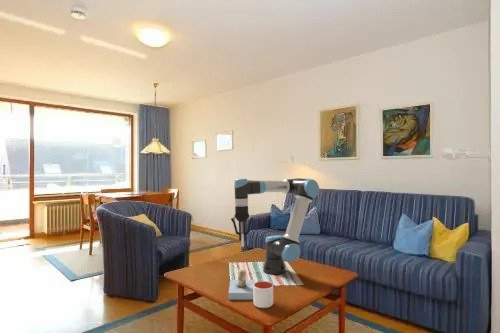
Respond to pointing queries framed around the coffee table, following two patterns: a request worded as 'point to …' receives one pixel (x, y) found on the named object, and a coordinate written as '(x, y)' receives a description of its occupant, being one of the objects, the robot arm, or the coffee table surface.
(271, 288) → the cup
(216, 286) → the coffee table surface
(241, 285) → the peg
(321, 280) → the coffee table surface
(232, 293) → the board
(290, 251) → the robot arm
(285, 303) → the coffee table surface
